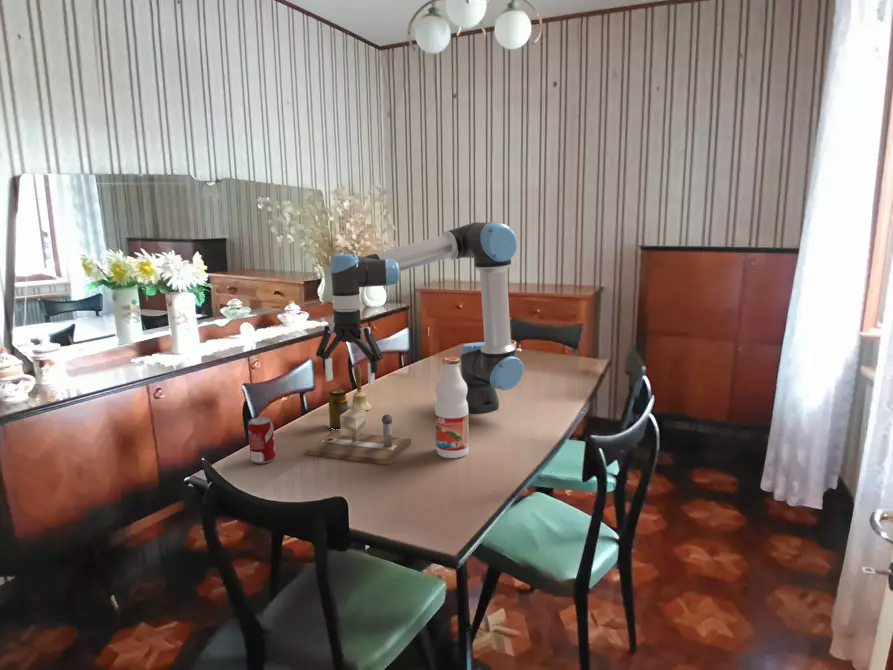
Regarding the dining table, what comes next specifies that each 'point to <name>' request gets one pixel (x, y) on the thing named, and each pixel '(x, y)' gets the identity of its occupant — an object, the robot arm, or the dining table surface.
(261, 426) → the soda can
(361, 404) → the hand bell
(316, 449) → the hole plate
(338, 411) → the condiment
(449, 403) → the fruit juice
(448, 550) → the dining table surface
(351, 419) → the leg
